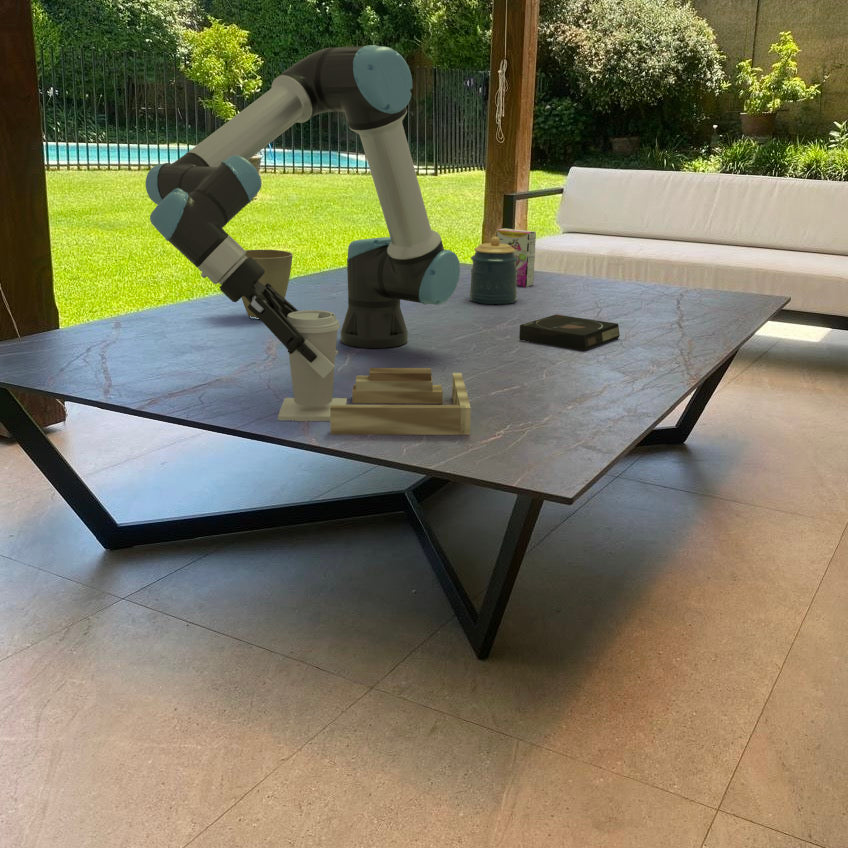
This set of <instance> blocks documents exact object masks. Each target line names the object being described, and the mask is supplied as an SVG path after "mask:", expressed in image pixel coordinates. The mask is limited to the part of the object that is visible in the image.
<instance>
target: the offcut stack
mask: <svg viewBox="0 0 848 848" xmlns="http://www.w3.org/2000/svg"><path fill="white" fill-rule="evenodd" d="M368 371H369V374H368V375H356V377H355V384H353V385H352V390H351V391H352V394H351V395H352V396H351V397H352V398H351V399H352V400H351V401H352V404H406V405H443V396H444V395H443V387H442V386H443V385H442V384H433V383H434V382H433V376H432V368H431V367H425V368H424V367H419V368H418V367H369V370H368Z"/></svg>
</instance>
